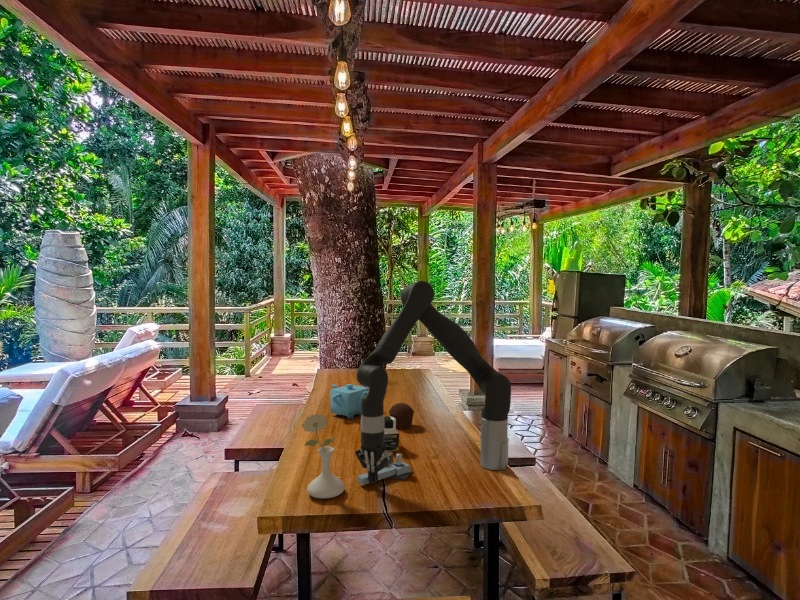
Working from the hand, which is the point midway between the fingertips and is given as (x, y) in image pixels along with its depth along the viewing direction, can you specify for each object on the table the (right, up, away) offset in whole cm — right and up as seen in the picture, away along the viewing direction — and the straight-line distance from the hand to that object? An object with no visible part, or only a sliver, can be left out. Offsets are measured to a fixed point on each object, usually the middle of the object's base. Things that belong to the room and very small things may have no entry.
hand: (372, 482), depth 146 cm
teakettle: (-15, +2, +77) cm, 79 cm away
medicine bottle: (+4, 0, +34) cm, 34 cm away
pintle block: (+8, -1, +10) cm, 13 cm away
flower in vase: (-15, -2, -4) cm, 16 cm away
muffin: (+9, +1, +59) cm, 60 cm away
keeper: (+3, -1, +13) cm, 14 cm away
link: (+3, 0, +6) cm, 7 cm away
